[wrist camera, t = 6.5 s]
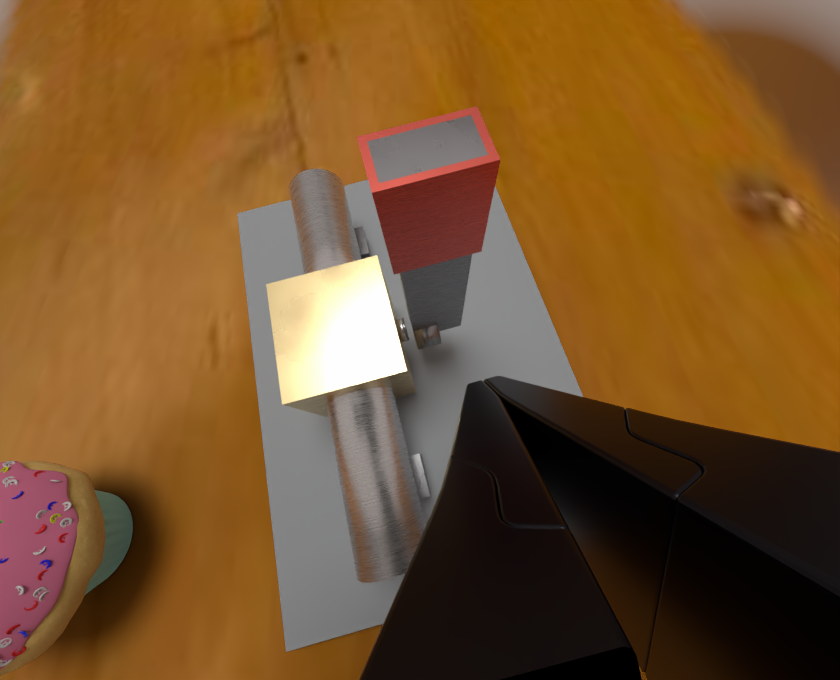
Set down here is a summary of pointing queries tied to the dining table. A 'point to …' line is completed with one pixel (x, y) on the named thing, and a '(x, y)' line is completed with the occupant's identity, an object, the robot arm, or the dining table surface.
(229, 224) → the dining table surface
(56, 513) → the cupcake
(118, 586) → the dining table surface
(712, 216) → the dining table surface
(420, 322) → the valve lever
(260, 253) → the mounting board
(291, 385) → the ball valve
